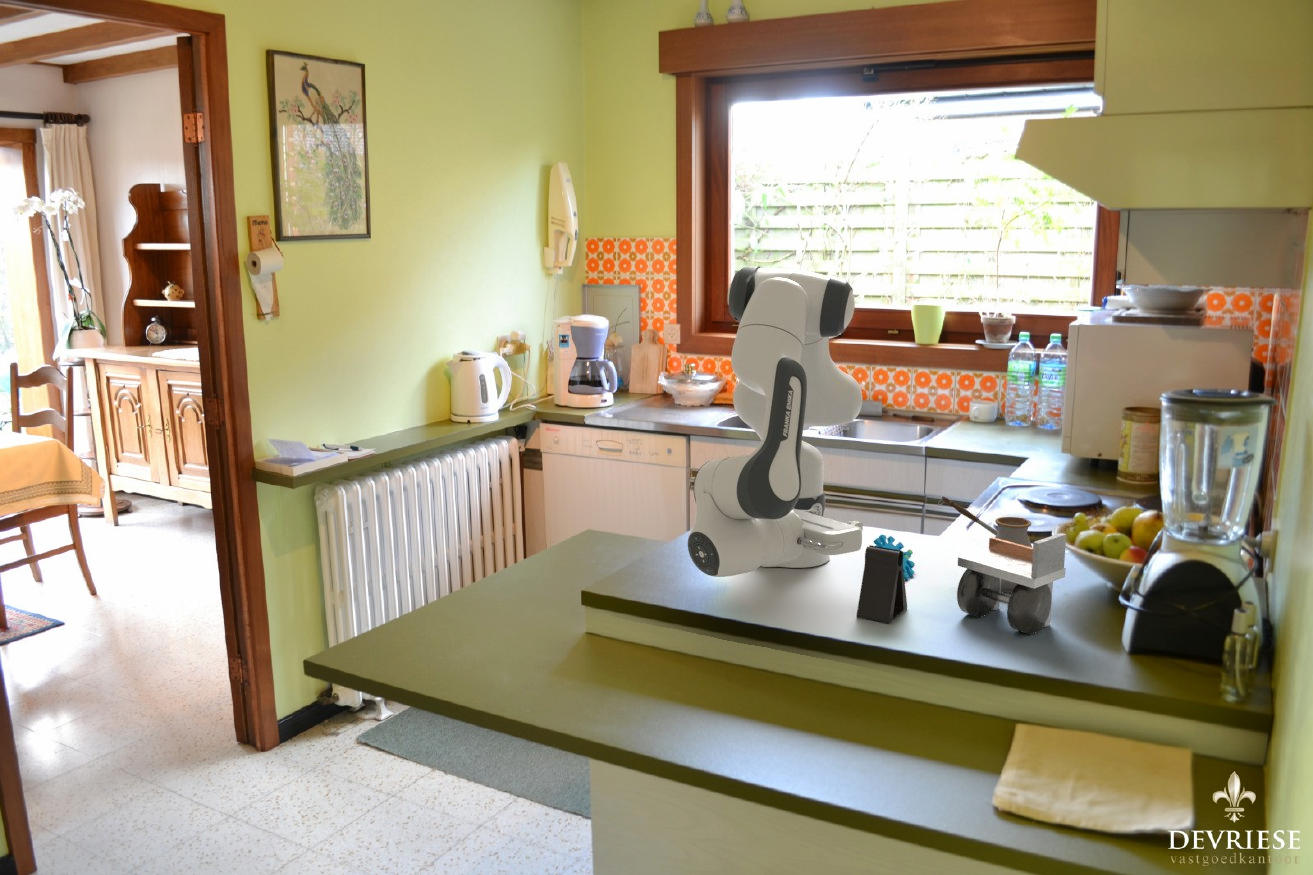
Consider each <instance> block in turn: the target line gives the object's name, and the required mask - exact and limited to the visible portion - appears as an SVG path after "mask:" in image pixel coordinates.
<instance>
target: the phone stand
mask: <svg viewBox="0 0 1313 875" xmlns="http://www.w3.org/2000/svg"><path fill="white" fill-rule="evenodd" d="M903 552H904V551H903V550H902V549H901V550H895V549H889V548H883V547H877V546H876V545H871V544H869V546H867V547H866V549H865V553H864V565H863V566H864V568H863V574H862V579H861V586H860V592H859V597H858V605H857V610H856V618H859V619H864V620H868V621H869V620H870V621H873V622H878V623H883V624H888V625H890V624H891V623H893V622H894V621H895V620H896V619H897V618H898V617H900V616H901V615H902V614H903V613H904V612H905V611H907V610H908V600H907V599H908V598H907V591H906V580H904V571H903Z"/></svg>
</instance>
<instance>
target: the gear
mask: <svg viewBox="0 0 1313 875" xmlns="http://www.w3.org/2000/svg"><path fill="white" fill-rule="evenodd" d="M895 541H896V539H895V538H894V537H893V536H892V535H890V536H888V537H887V535H885V534H880V535H878V537H877V538H875V539H874V540H873V543H874V545H875V546H877V547H883V548H889V549H895V550H901V551H902V549H903V548H905V546H904V545H903V543H902V542H901V541H899V542H897V544H896V545H895V544H894V543H895ZM913 554H914V552H913V550H912V549H908V550H907V551H903V571H904V580H905V581H906V580H908V579H909V578H910V577H911V576H913V575H914V574H915V571H914V570H913V568H914V567H915V566H916V565H915V564H916V563H915V562H914V561H912V560H910V558H911V557H912V555H913Z"/></svg>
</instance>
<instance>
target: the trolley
mask: <svg viewBox="0 0 1313 875" xmlns="http://www.w3.org/2000/svg"><path fill="white" fill-rule="evenodd" d="M1032 544H1033V545H1032V547H1028V546H1024V545H1020V544H1016V543H1013V542H1009V541H1005V540H1001V539H997V538H995V537H994V536H991V537H989V540H988V547H985V548H982V549H979V550H976V551H973V552H970V553H969V552H968V553H966V554H962V555H960V556H957V567H960V568H965V570H964V572H963V574H962V575H961V577H960V579H959V582H958V585H957V586H958V587H957V590H956V591H957V592H956V601H957V605H958V607H959V609H960V611H962V612H963V613H965V614H969V615H972V616H974V617H976V618H977V617H978V618H983V617H985V616H984V615H986V616H987V615H989V614H990V613H991V611H993V610H995V611H997V610H996V609H998V610H1000V604H1001V603H1002V604H1005V605H1007V609H1006V616H1007V617H1006V618H1007V621H1008V624H1009V626H1010V627H1011V629H1013V630H1016V631H1018V632H1022V633H1025V634H1028V635H1034V634H1033V633H1035V632H1037V633H1038V632H1039V631H1040V630H1042V628H1044V627H1045V628H1047V627H1049V625H1050V626H1051V616H1052V615H1051V614H1052V602H1053V601H1052V600H1053V588H1054V586H1053V585H1054V582H1056V581H1058V580H1061V579H1064V578H1065V577H1066V567H1065V560H1066V559H1065V558H1066V545H1067V534H1066V533H1063V532H1061V533H1056V534H1053V535H1050V536H1047V537H1044V538H1041V539H1038V540H1035V541H1033V542H1032ZM1001 579H1004V580H1007V581H1010V582H1014V583H1017V585H1016V586H1015V588H1014V589H1013V591H1012V593H1010V594H1008V593H1006V592H1002V591H1000V590H1001ZM982 616H983V617H982ZM1035 634H1036V633H1035Z"/></svg>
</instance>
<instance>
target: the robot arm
mask: <svg viewBox="0 0 1313 875" xmlns="http://www.w3.org/2000/svg"><path fill="white" fill-rule="evenodd" d="M854 296H855V295H854V290H853V286H851V285H850V283H849V282H848V281H847V280H845V279H843V278H841V277H838V276H835V275H831V276H828V275H824V274H822V273H821V274H820V273H817V272H813V271H809V270H808V271H807V270H801V269H789V268H776V267H761V265H758V266H757V265H756V266H755V265H752V266H745V267H742V268H741V269H739V270H737V272H736V273H734V276H733V278H732V281H731V282H730V285H729V288H728V291H727V304H728V312H729V314H730V316H731V317H732V319H733V320H734V321H735V322H738V323H739V324H738V328H737V332H736V334H735V338H734V341H733V345H732V349H731V358H730V359H731V361H730V362H731V363H730V364H731V369H732V371H733V373H734V374H735V377H736V378H737V380H738V382H737V384H736V386H735V388H734V391H733V395H732V399H733V400H732V401H733V402H732V403H733V407H734V411H735V412H736V414H737V416H738V417H739V419H741V421H742V422H744V424H746V425H747V426H748V427H750V428H751V429H752V430H753V431H754V432H755V433H756V434H757V436H758V437H759V438H760V443H759V445H758V447H757V448H756V449H755V450H753V451H752V452H750V453H749V454H744V455H738V456H727V457H723V458H717V459H711V460H709V461H707V462H705V463H703V465H702V466H701V467H700V468H699V469H698V471H697V473H696V474H695V478H694V479H693V480H694V481H693V488H692V489H693V497H694V500H695V517H694V518H695V519H694V523H693V526H692V529H691V530H690V533H689V534H688V537H687V550H688V555H689V556H690V559H691V561H692V562H693V564H694V566H695V567H696V568H697V569H698V570H700V571H701V572H702V573H703V574H704V575H706V576H711V577H714V578H725V577H732V576H739V575H742V574H747V573H750V572H753V571H755V570H757V569H758V568H760V567H763V568H772V567H773V568H774V567H775V568H778V567H779V568H780V567H781V568H794V569H797V568H798V569H799V568H801V569H802V568H813V567H818V566H821V565H824V564H825V563H828V562H829V561H830V558H831V557H830V556H838V555H843V554H844V555H845V554H849V553H854V552H858V551H860V550H861V548H862V544H863V530H864V529H863V522H861V521H858V520H852V521H848V523H847V522H842V521H839V520H836V519H832V518H829V517H826V516H824V512H825V509H826V508H825V507H826V493H825V491H824V457H823V455H822V453H821V452H820V450H819V449H818V448H816V447H815V446H813V445H812V444H810V443H808V442H806V441H804V440H803V435H804V427H835V426H842V425H846V424H849V423H852V422H854V421H855V419H857V417H858V416H859V414H860V412H861V410H862V406H863V401H864V400H863V392H862V391H863V390H862V389H861V386H860V383H858V381H857V380H856V379H855V377H853V376H852V375H851V374H848V373H846V372H844V371H843V370H842V369H841V368H839V367H838V366H837V365H836V363H835V362H834V360H833V359H832V357H831V353H830V339H829V338H833V337H838V336H839V335H841V334H843V333H844V332H845V331H846V330H847V327H848V326H849V324H850V323H851V320H852V319H853V316H854V314H855V308H856V307H855V305H856V302H855V301H856V300H855V297H854Z"/></svg>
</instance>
